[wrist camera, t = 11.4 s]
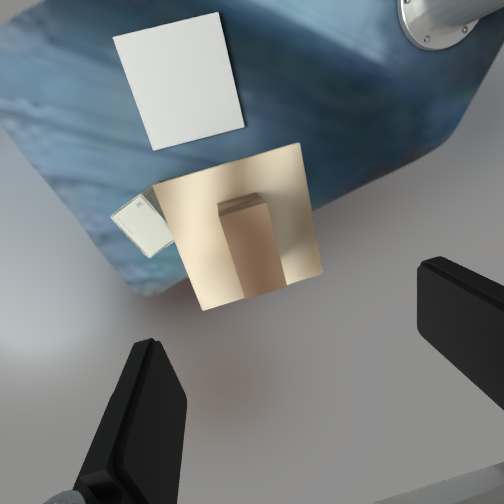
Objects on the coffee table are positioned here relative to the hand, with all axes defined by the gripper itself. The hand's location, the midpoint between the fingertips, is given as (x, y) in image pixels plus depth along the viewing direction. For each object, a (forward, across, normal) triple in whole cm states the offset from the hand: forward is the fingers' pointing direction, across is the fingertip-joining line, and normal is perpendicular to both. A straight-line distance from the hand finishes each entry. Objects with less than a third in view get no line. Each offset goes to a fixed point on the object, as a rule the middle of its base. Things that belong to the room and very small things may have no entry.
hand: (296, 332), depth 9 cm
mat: (+34, +3, -15) cm, 37 cm away
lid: (+14, 0, 0) cm, 14 cm away
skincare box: (+34, +11, -1) cm, 36 cm away
